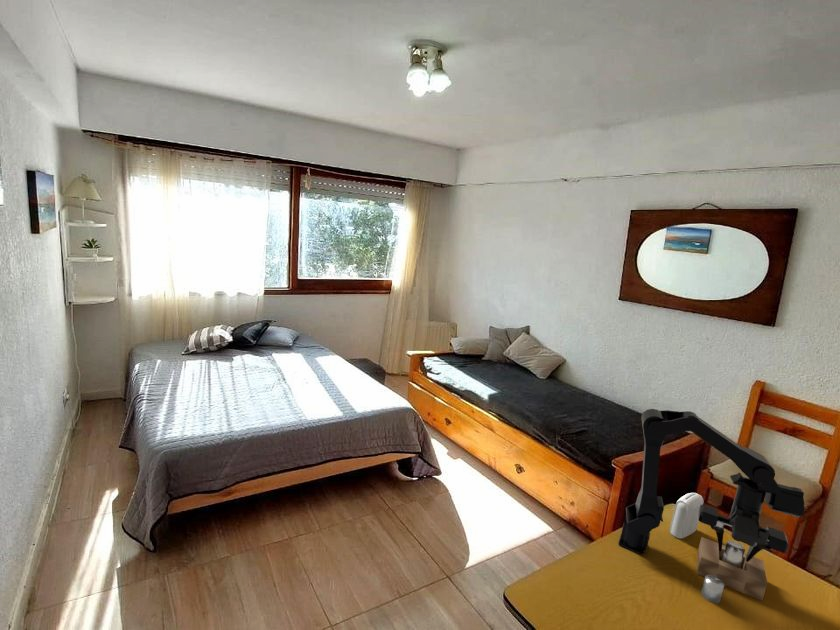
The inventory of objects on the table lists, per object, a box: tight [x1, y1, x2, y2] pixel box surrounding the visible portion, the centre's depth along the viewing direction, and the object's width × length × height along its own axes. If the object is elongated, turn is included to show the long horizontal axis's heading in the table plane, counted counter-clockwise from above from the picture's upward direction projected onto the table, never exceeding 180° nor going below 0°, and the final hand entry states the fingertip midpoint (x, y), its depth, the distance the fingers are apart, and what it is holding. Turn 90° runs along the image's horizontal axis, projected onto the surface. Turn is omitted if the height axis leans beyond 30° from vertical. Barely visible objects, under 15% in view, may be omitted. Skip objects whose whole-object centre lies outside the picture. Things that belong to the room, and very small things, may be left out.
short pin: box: [700, 575, 725, 604], centre depth 111 cm, size 4×4×4 cm
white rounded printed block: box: [669, 492, 704, 539], centre depth 134 cm, size 10×4×12 cm, turn 123°
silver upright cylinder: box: [722, 540, 746, 568], centre depth 118 cm, size 4×4×9 cm
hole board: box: [696, 536, 768, 602], centre depth 119 cm, size 14×10×5 cm
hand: (733, 555), depth 118 cm, fingers open, 6 cm apart
